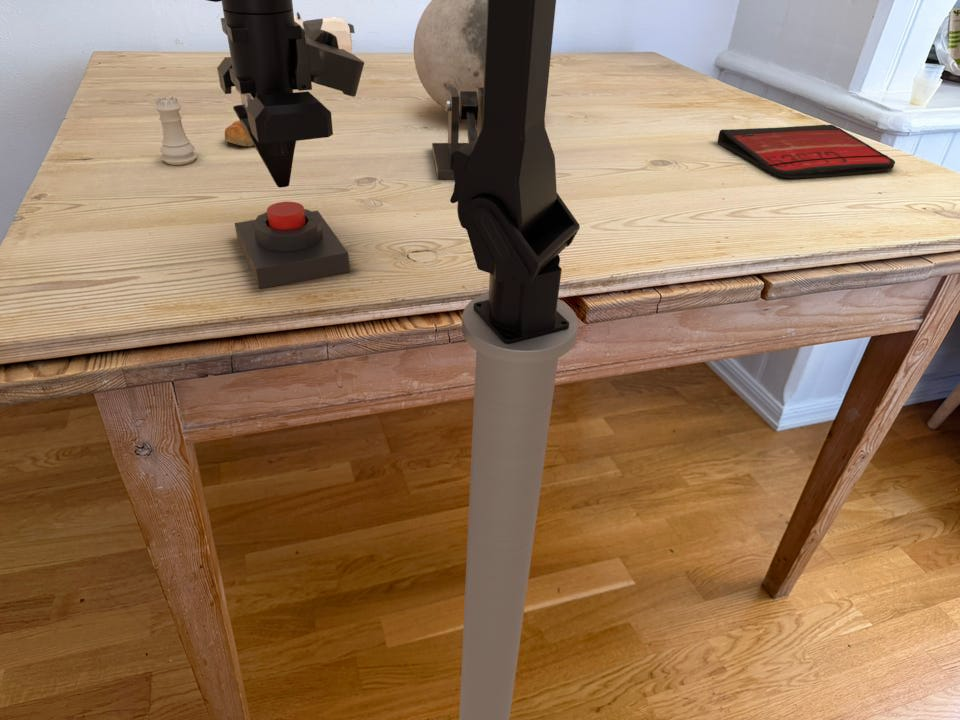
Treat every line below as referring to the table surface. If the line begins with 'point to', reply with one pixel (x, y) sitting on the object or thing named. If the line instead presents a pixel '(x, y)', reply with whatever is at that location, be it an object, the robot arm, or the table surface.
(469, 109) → the lever
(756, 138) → the binder
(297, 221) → the button
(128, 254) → the table surface
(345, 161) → the table surface
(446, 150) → the bracket
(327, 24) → the giant panda
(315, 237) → the button box
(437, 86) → the moon model
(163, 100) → the rook chess piece
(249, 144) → the pastry
